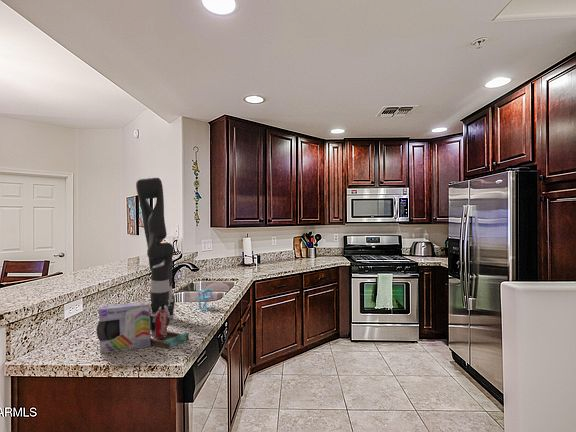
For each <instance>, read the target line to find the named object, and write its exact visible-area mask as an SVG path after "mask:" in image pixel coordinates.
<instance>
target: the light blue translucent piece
mask: <svg viewBox="0 0 576 432" xmlns="http://www.w3.org/2000/svg"><path fill="white" fill-rule="evenodd" d="M201 293H202V296H201ZM208 293H210V294H209V295H208ZM197 294H198V296H196V298H197V301H198V309H199V308H200V309H201V310H202V311H205V312H207V311H206V310H210V309H214V308H215V307H214V306H206V305H207V302H208V301H209V300H210V299H211V300H212V299H214V297H213V296H212V294H213V290H212V289H211V288H206V289H199V290H197ZM201 301H205V302H204V304H203V305H202V303H201ZM203 307H205V308H203ZM207 308H210V309H207ZM200 309H199V310H200ZM201 310H200V311H201ZM214 310H215V309H214ZM202 311H201V312H202ZM210 311H211V310H210Z"/></svg>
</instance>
